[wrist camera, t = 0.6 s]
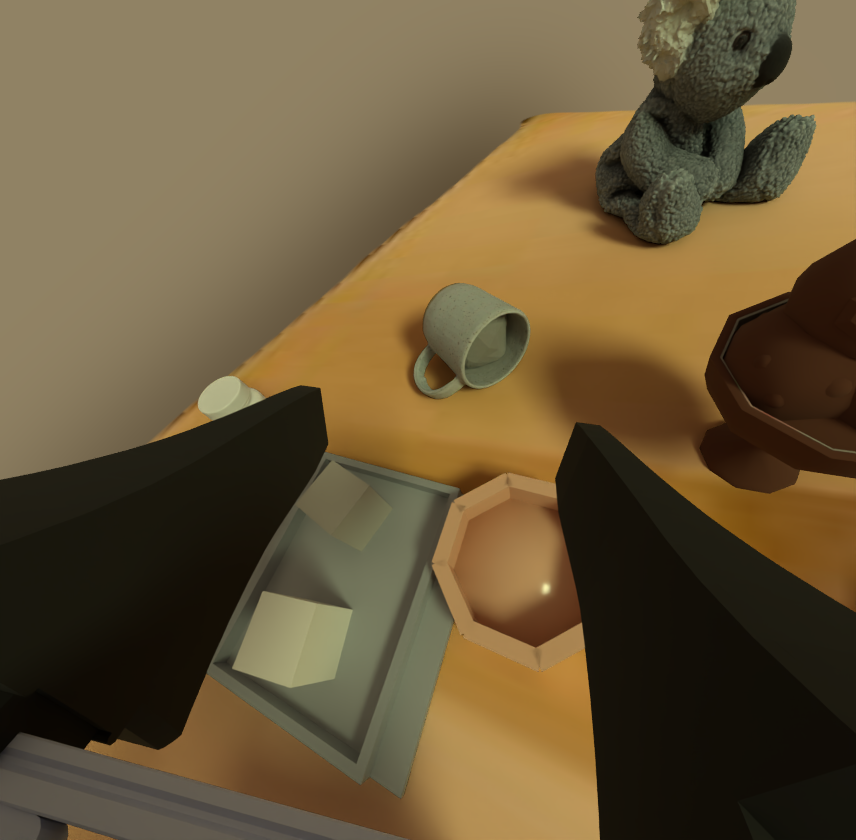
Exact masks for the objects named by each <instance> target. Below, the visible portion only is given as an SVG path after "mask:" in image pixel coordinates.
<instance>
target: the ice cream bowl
mask: <svg viewBox="0 0 856 840" xmlns="http://www.w3.org/2000/svg"><path fill="white" fill-rule="evenodd" d="M705 380H706V386H707V390H708V391H709V393H710V395H711V397H712V399H713V400H714V402H715V404H716V406H717V408H718V409H719V411H720V413H721V415H722V417H723V418H724V420H725V422H726V423H725V424H722V425H720V426H717V427H715V428H712V429H710V430H707V432H706V434H705V437H704V439H703V441H702V444H701V446H700V450H701V452H702V455H703V457H704V459H705V461H706V463H707V465H708V467H709V469H710V470H711V471H712V472H714V473H715V474H717V475H718V476H720V477H721V478H723V479H724V480H726V481H727V482H729V483H730V484H732V485H733V486H735V487H736V488H741V489H747V490H752V491H758V492H763V493H769V494H770V493H772V492H775V491H778V490H780V489H783V488H786V487H788V486H791V485H794V484H795V483H796V480H797V478H798V475H799V471H800V470H804V471H810V472H817V473H823V474H830V475H836V476H843V477H849V478H856V239H855V240H853V241H852V242H850V243H848V244H846V245H844V246H843V247H841V248H839V249H837V250H835V251H834V252H832V253H830V254H828V255H827V256H825V257H823V258H821V259H820V260H818V261H816V262H814V263H812V264H811V265H810V266H809V267H808V268H807V269H806V270H805V271H804V272H803V273H802V274H801V275H800V276H799V277H798V278H797V280H796V282H795V284H794V287H793V289H792V291H791V292H787V293H784V294H782V295H779V296H777V297H774V298H772V299H769V300H767V301H764V302H761V303H759V304H756V305H754V306H751V307H749V308H746V309H744V310H741V311H739V312H736V313H733V314H731V315H729V317H728V319H727V321H726V323H725V325H724V328H723V330H722V332H721V334H720V336H719V338H718V340H717V342H716V345H715V347H714V349H713V351H712V353H711V355H710V358H709V361H708V365H707V368H706V372H705Z"/></svg>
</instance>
